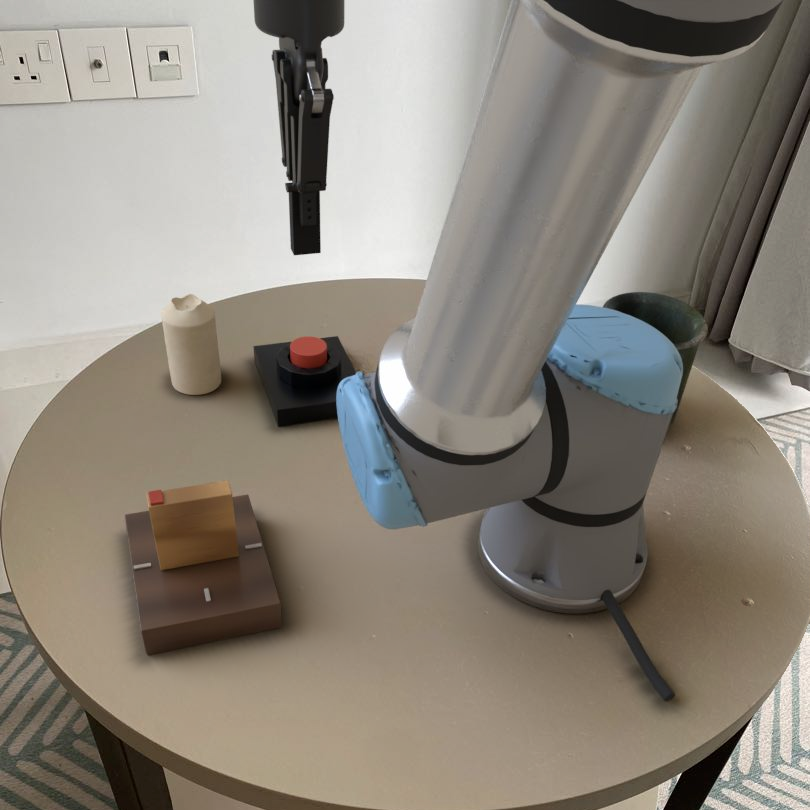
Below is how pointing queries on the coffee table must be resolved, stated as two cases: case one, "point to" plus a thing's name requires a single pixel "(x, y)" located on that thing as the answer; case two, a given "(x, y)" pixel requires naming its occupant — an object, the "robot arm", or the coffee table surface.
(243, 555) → the panel
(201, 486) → the handle
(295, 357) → the button
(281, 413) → the button block
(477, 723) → the coffee table surface
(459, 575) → the coffee table surface
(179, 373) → the candle
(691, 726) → the coffee table surface
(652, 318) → the mug
